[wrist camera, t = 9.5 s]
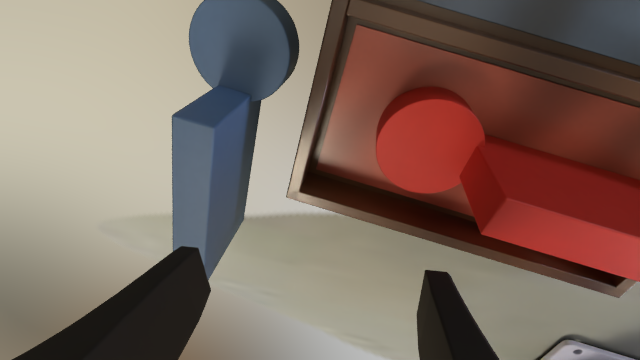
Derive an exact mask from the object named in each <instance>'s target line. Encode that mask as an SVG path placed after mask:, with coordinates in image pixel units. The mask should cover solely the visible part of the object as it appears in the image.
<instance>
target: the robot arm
mask: <svg viewBox="0 0 640 360" xmlns="http://www.w3.org/2000/svg"><path fill="white" fill-rule="evenodd" d="M210 292H211V288H210V285H209V282H208V278H207V275H206V272H205V268H204V265H203V262H202V258H201V255H200V252H199V248H197V247H187V246H181V247H179V248H178V249H176V250H175V251H173V252H172V253H171V254H169V255H168V256H167V257H165V258H164V259H163V260H161V261H160V262H159V263H157V264H156V265H155V266H153V267H152V268H151V269H149V270H148V271H147V272H145V273H144V274H143V275H141V276H140V277H139V278H137V279H136V280H135V281H133V282H132V283H131V284H129V285H128V286H127V287H125V288H124V289H123V290H121V291H120V292H119V293H117V294H116V295H114V296H113V297H111V298H110V299H108V300H107V301H105V302H104V303H103V304H101V305H100V306H98V307H97V308H95V309H94V310H92V311H91V312H90V313H88V314H87V315H85V316H84V317H82V318H81V319H79V320H78V321H76V322H75V323H73V324H72V325H70V326H69V327H67V328H65V329H64V330H62V331H61V332H59V333H57V334H56V335H54V336H52V337H51V338H49V339H47V340H46V341H44V342H42V343H41V344H39V345H37V346H36V347H34V348H32V349H30V350H29V351H27V352H25V353H24V354H22V355H20V356H18V357H16V358H14V359H12V360H178V359H179V357H180V355H181V353H182V351H183V350H184V347H185V346H186V344H187V342H188V340H189V338H190V337H191V335H192V333H193V331H194V329H195V327H196V325H197V323H198V322H199V319H200V317H201V315H202V312H203V310H204V307H205V305H206V302H207V299H208V297H209V294H210ZM417 331H418V350H419V357H420V360H499V358H498V357H497V355H496V354H495V352H494V351H493V349H492V347H491V346H490V344H489V343H488V341H487V339H486V338H485V336H484V335H483V333H482V332H481V330H480V328H479V327H478V325H477V323H476V322H475V320H474V318H473V317H472V315H471V313H470V312H469V310H468V308H467V306H466V305H465V303H464V301H463V299H462V297H461V295H460V294H459V292H458V290H457V288H456V286H455V284H454V282H453V280H452V278H451V276H450V275H449V274H448V273H447V272H441V271H430V270H425V274H424V280H423V285H422V290H421V295H420V301H419V306H418V311H417ZM540 360H636V359H632V358H629V357H626V356H623V355H619V354H616V353H613V352H609V351H606V350H603V349H600V348H596V347H593V346H590V345H586V344H583V343H580V342H577V341H573V340H564V341H562V342H560V343H559V344H558V345H557V346H556V347H555V348H553V349H552V350H551V351H550V352H549V353H547V354H546V355H545V356H544V357H543V358H542V359H540Z"/></svg>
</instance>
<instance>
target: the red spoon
mask: <svg viewBox="0 0 640 360" xmlns="http://www.w3.org/2000/svg"><path fill="white" fill-rule="evenodd" d="M376 158H377V162H378V165H379V167H380V169H381V171H382V172H383V174H384V175H385V176H386V177H387V178H388V179H389V180H390V181H391V182H392V183H394V184H395V185H397V186H398V187H400V188H402V189H405V190H407V191H411V192H415V193H436V192H441V191H445V190H448V189H450V188H453V187H455V186H456V185H458V184H460V183H462V185H463V188H464V191H465V193H466V196H467V199H468V201H469V204H470V207H471V209H472V212H473V215H474V217H475V220H476V222H477V225H478V228H479V230H480V233H481V234H482V235H486V236H489V237H492V238H496V239H499V240H502V241H505V242H509V243H512V244H515V245H519V246H522V247H525V248H529V249H532V250H535V251H539V252H542V253H545V254H549V255H552V256H555V257H559V258H562V259H565V260H569V261H572V262H575V263H579V264H582V265H585V266H588V267H592V268H595V269H598V270H602V271H605V272H608V273H612V274H615V275H618V276H622V277H625V278H628V279H632V280H635V281H638V282H640V180H637V179H633V178H630V177H627V176H623V175H620V174H617V173H613V172H610V171H607V170H603V169H600V168H597V167H593V166H590V165H586V164H583V163H580V162H576V161H573V160H570V159H566V158H563V157H560V156H556V155H553V154H550V153H546V152H543V151H539V150H536V149H533V148H529V147H526V146H523V145H519V144H516V143H513V142H509V141H506V140H503V139H499V138H496V137H493V136H489V135H486V134H484V131H483V127H482V125H481V123H480V121H479V120H478V118H477V117H476V115H475V114H474V112H473V111H472V109H471V108H470V106H469V105H468V104H467V102H466V101H465V100H464V99H463V98H462V97H461V96H459V95H458V94H456V93H454V92H453V91H451V90H448V89H445V88H441V87H432V86H430V87H420V88H416V89H412V90H410V91H407V92H405V93H403V94H401V95H400V96H398V97H397V98H395V99H394V100H393V101H392V102H391V103H390V104H389V105H388V106H387V107H386V109H385V110H384V111H383V113H382V115H381V117H380V119H379V122H378V125H377V132H376Z"/></svg>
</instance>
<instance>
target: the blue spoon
mask: <svg viewBox="0 0 640 360" xmlns="http://www.w3.org/2000/svg"><path fill="white" fill-rule="evenodd" d="M189 45H190V51H191V55H192V58H193V61H194V63H195V65H196V67H197V69H198V71H199V72H200V74H201V76H202V77H203V78H204V79H205V81H206V82H207V83H208V84H209V85H210V86H211V87H212V88H213V89H212V90H210V91H209V92H207V93H206V94H204V95H203V96H201V97H199V98H198V99H196V100H195V101H193V102H192V103H190V104H189V105H187V106H185V107H184V108H183V109H181V110H179V111H178V112H176V113H175V114H173V115H172V176H173V177H172V183H173V184H172V185H173V187H172V189H173V251H175V250H176V249H178V248H179V247H181V246H187V247H197V248H199V252H200V255H201V258H202V262H203V265H204V268H205V272H206V275H207V278H208V280H209V278H210V276H211V274H212V273H213V271H214V269H215V268H216V266H217V264H218V262H219V261H220V259H221V257H222V256H223V254H224V252H225V250H226V249H227V247H228V245H229V244H230V242H231V240H232V238H233V237H234V235H235V233H236V232H237V230H238V228H239V226H240V225H241V223H242V221H243V219H244V212H245V206H246V199H247V192H248V185H249V179H250V172H251V165H252V159H253V152H254V146H255V139H256V132H257V126H258V125H257V124H258V119H259V112H260V106H261V100H262V99H265V98H267V97H269V96H270V95H272V94H273V93H274V92H275V91H276V90H277V89H279V87H280V86H281V85H282V84H283V83H284V82H285V81H286V80H287V79H288V78H289V77H290V75H291V74H292V72H293V71H294V69H295V66H296V63H297V60H298V55H299V39H298V34H297V30H296V27H295V24H294V22H293V20H292V18H291V16H290V15H289V13H288V12H287V10H286V9H285V8H284V7H283V6H282V5H281V4H280V3H279V2H278V1H277V0H204V1H203V2H202V3H201V4H200V5H199V7H198V8H197V10H196V11H195V13H194V15H193V18H192V21H191V24H190V29H189Z"/></svg>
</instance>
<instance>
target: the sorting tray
mask: <svg viewBox="0 0 640 360" xmlns="http://www.w3.org/2000/svg"><path fill="white" fill-rule="evenodd" d="M430 86H432V87H441V88H445V89H448V90H451V91H453V92H454V93H456V94H458V95H459V96H461V97H462V98H463V99H464V100H465V101H466V102H467V104H468V105H469V106H470V108H471V109H472V111H473V112H474V114H475V115H476V117H477V118H478V120H479V121H480V123H481V125H482V127H483V131H484V134H486V135H489V136H493V137H496V138H499V139H503V140H506V141H509V142H513V143H516V144H519V145H523V146H526V147H529V148H533V149H536V150H539V151H543V152H546V153H550V154H553V155H556V156H560V157H563V158H566V159H570V160H573V161H576V162H580V163H583V164H586V165H590V166H593V167H597V168H600V169H603V170H607V171H610V172H613V173H617V174H620V175H623V176H627V177H630V178H633V179H637V180H640V0H332V3H331V7H330V11H329V15H328V20H327V24H326V28H325V33H324V37H323V41H322V45H321V50H320V54H319V59H318V63H317V67H316V71H315V75H314V80H313V84H312V88H311V93H310V97H309V101H308V105H307V110H306V114H305V119H304V123H303V127H302V131H301V135H300V140H299V144H298V149H297V153H296V157H295V161H294V165H293V170H292V174H291V178H290V183H289V187H288V191H287V196H286V197H287V198H290V199H294V200H297V201H300V202H303V203H307V204H310V205H313V206H316V207H320V208H323V209H326V210H330V211H333V212H336V213H340V214H343V215H346V216H350V217H353V218H356V219H359V220H363V221H366V222H369V223H373V224H376V225H379V226H383V227H386V228H389V229H393V230H396V231H399V232H402V233H406V234H409V235H412V236H416V237H419V238H422V239H426V240H429V241H432V242H436V243H439V244H442V245H445V246H449V247H452V248H455V249H459V250H462V251H465V252H469V253H472V254H475V255H479V256H482V257H485V258H488V259H492V260H495V261H498V262H502V263H505V264H508V265H512V266H515V267H518V268H522V269H525V270H528V271H532V272H535V273H538V274H541V275H545V276H548V277H551V278H555V279H558V280H561V281H565V282H568V283H571V284H575V285H578V286H581V287H584V288H588V289H591V290H594V291H598V292H601V293H604V294H608V295H611V296H614V297H618V298H620V297H621V296H622V295H623V294H624V293H626V292H627V291H628V290H629V289H630V288H631V287H633V286H634V285H635V284H636V283H637V282H638V281H635V280H632V279H628V278H625V277H622V276H618V275H615V274H612V273H608V272H605V271H602V270H598V269H595V268H592V267H588V266H585V265H582V264H579V263H575V262H572V261H569V260H565V259H562V258H559V257H555V256H552V255H549V254H545V253H542V252H539V251H535V250H532V249H529V248H525V247H522V246H519V245H515V244H512V243H509V242H505V241H502V240H499V239H496V238H492V237H489V236H486V235H482V234H481V233H480V230H479V228H478V225H477V222H476V220H475V217H474V215H473V212H472V209H471V207H470V204H469V201H468V199H467V196H466V193H465V191H464V188H463V185H462V183H460V184H458V185H456V186H455V187H453V188H450V189H448V190H445V191H441V192H436V193H415V192H411V191H407V190H405V189H402V188H400V187H398V186H397V185H395V184H394V183H392V182H391V181H390V180H389V179H388V178H387V177H386V176H385V175H384V174H383V172H382V171H381V169H380V167H379V165H378V162H377V158H376V132H377V125H378V122H379V119H380V117H381V115H382V113H383V111H384V110H385V109H386V107H387V106H388V105H389V104H390V103H391V102H392V101H393V100H394V99H395V98H397V97H398V96H400V95H401V94H403V93H405V92H407V91H410V90H412V89H416V88H420V87H430Z"/></svg>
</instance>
